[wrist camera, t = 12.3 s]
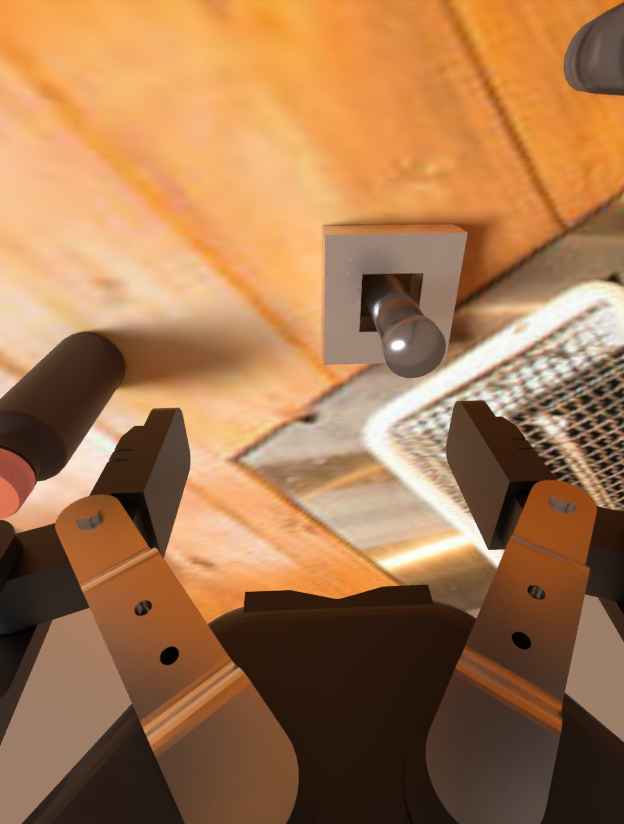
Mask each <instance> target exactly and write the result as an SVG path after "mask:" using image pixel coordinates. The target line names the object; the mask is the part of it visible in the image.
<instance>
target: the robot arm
mask: <svg viewBox="0 0 624 824" xmlns="http://www.w3.org/2000/svg"><path fill="white" fill-rule="evenodd" d="M446 455H447V461H448V464H449V466H450V468H451V471H452V473H453V475H454V477H455V479H456V481H457V483H458V486H459V488H460V490H461V492H462V494H463V496H464V498H465V501H466V503H467V505H468V507H469V509H470V511H471V513H472V516H473V518H474V520H475V522H476V524H477V526H478V529H479V531H480V533H481V535H482V537H483V539H484V541H485V544H486V546H487V548H488V550H499V549H505V551H504V554H503V556H502V559H501V561H500V563H499V566H498V568H497V571H496V573H495V575H494V578H493V580H492V583H491V585H490V588H489V590H488V592H487V595H486V597H485V600H484V602H483V604H482V607H481V609H480V612H479V614H478V617H477V619H476V618H475V617H473V616H472V615H470V614H468V613H467V612H465V611H463V610H461V609H459V608H457V607H454V606H452V605H450V604H447V603H443V602H440V601H436V600H432V597H431V594H430V591H429V587H428V585H410V586H385V587H380V588H377V589H373V590H370V591H366V592H363V593H359V594H356V595H352V596H349V597H345V598H341V599H333V598H328V597H323V596H318V595H313V594H307V593H302V592H297V591H292V590H283V591H257V592H245V601H244V607H241V608H238V609H235V610H233V611H230V612H228V613H226V614H224V615H222V616H220V617H218V618H216V619H215V620H213V621H212V622H210V623H209V624H207V623H206V621H205V620H204V618H203V617H202V615H201V614H200V612H199V611H198V609H197V608H196V606H195V605H194V603H193V602H192V600H191V599H190V597H189V596H188V594H187V593H186V591H185V590H184V588H183V587H182V585H181V584H180V582H179V581H178V579H177V578H176V576H175V575H174V573H173V572H172V570H171V569H170V567H169V566H168V564H167V563H166V561H165V560H164V555H165V552H166V549H167V545H168V542H169V538H170V535H171V532H172V528H173V525H174V521H175V518H176V515H177V511H178V508H179V504H180V501H181V498H182V494H183V491H184V487H185V484H186V481H187V477H188V474H189V470H190V449H189V444H188V439H187V434H186V429H185V424H184V419H183V414H182V411H181V409H180V408H155V409H152V410H151V412H150V414H149V416H148V418H147V420H146V422H145V425H144V426H134V427H133V428H132V429H130V430H129V431H128V432H127V433H126V434H124V435H123V436H122V437H121V439H120V440H119V442H118V444H117V446H116V448H115V452H113V453H112V455H111V457H110V459H109V462H107V464H106V466H105V468H104V470H103V472H102V473H101V475H100V477H99V479H98V481H97V483H96V484H95V486H94V488H93V490H92V492H91V494H90V495H89V496H88V497H85V498H82V499H79V500H77V501H75V502H74V503H72V504H70V505H69V506H68V507H66V508H65V509H64V510H63V511H62V512H61V513H60V515H59V516H58V518H57V520H56V523H54V524H51V525H47V526H44V527H40V528H36V529H32V530H28V531H25V532H21V533H16V531H15V529H14V527H13V526H12V525H11V524H10V523H9V522H7V521H4V520H0V745H1V742H2V740H3V737H4V735H5V733H6V730H7V728H8V725H9V723H10V721H11V718H12V716H13V713H14V711H15V709H16V706H17V704H18V701H19V699H20V697H21V694H22V692H23V689H24V687H25V685H26V682H27V680H28V677H29V675H30V673H31V670H32V668H33V666H34V663H35V661H36V658H37V656H38V653H39V651H40V649H41V646H42V644H43V642H44V639H45V637H46V634H47V632H48V630H49V627H50V625H51V622H52V620H53V619H56V618H59V617H62V616H65V615H68V614H72V613H75V612H78V611H81V610H84V609H87V608H90V610H91V612H92V614H93V616H94V619H95V621H96V623H97V625H98V628H99V630H100V632H101V634H102V637H103V639H104V641H105V643H106V646H107V648H108V650H109V652H110V655H111V657H112V659H113V662H114V664H115V666H116V668H117V671H118V673H119V675H120V677H121V680H122V682H123V684H124V686H125V689H126V691H127V693H128V695H129V698H130V700H131V702H132V704H131V705H130V706H129V707H128V709H127V710H126V711H125V712H124V713H123V714H122V715H121V716H120V717H119V718H118V719H117V720H116V722H115V723H114V724H113V725H112V726H111V727H110V728H109V729H108V730H107V731H106V732H105V734H104V735H103V736H102V737H101V738H100V739H99V740H98V741H97V742H96V743H95V744H94V746H93V747H92V748H91V749H90V750H89V751H88V752H87V753H86V754H85V755H84V756H83V758H82V759H81V760H80V761H79V762H78V763H77V764H76V765H75V766H74V767H73V768H72V770H71V771H70V772H69V773H68V774H67V775H66V776H65V777H64V778H63V779H62V780H61V782H60V783H59V784H58V785H57V786H56V787H55V788H54V789H53V790H52V791H51V792H50V794H49V795H48V796H47V797H46V798H45V799H44V800H43V801H42V802H41V803H40V804H39V805H38V807H37V808H36V809H35V810H34V811H33V812H32V813H31V814H30V815H29V816H28V817H27V819H26V820H25V821H24V822H23V823H22V824H624V742H623V741H622V740H621V739H619V738H618V737H617V736H616V735H615V734H613V733H612V732H611V731H610V730H609V729H608V728H606V727H605V726H604V725H603V724H602V723H600V722H599V721H598V720H597V719H596V718H595V717H593V716H592V715H591V714H590V713H589V712H587V711H586V710H585V709H584V708H583V707H581V706H580V705H579V704H578V703H577V702H575V701H574V700H573V699H572V698H571V697H570V696H568V695H567V694H566V693H565V688H566V684H567V678H568V674H569V669H570V664H571V660H572V655H573V650H574V645H575V640H576V635H577V631H578V626H579V621H580V616H581V611H582V606H583V601H584V596H585V594H586V595H590V596H595V597H598V598H599V600H600V602H601V604H602V605H603V607H604V609H605V610H606V612H607V614H608V616H609V617H610V619H611V621H612V622H613V624H614V626H615V628H616V629H617V631H618V633H619V634H620V636H621V638H622V640H623V641H624V512H622V511H617V510H612V509H607V508H602V507H597V506H596V504H595V502H594V501H593V499H592V498H591V497H590V496H589V495H588V494H587V493H586V492H584V491H583V490H581V489H580V488H578V487H576V486H574V485H571V484H569V483H566V482H562V481H557V479H556V478H555V477H554V475H553V474H552V473H551V471H550V470H549V469H548V468H547V466H546V465H545V464H544V462H543V461H542V460H541V458H540V457H539V456H538V454H537V453H536V452H535V450H533V449H532V446H531V445H530V444H529V442H528V441H527V440H525V437H524V436H523V434H522V433H521V432H520V430H519V429H518V428H517V426H515V425H514V424H512V423H511V422H509V421H508V420H506V419H505V418H503V417H496V416H495V415H494V414H493V412H492V411H491V409H490V408H489V406H488V405H487V404H486V402H485V401H483V400H480V401H457V402H456V403H455V405H454V408H453V413H452V418H451V423H450V428H449V434H448V439H447V444H446Z"/></svg>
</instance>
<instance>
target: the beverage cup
mask: <svg viewBox="0 0 624 824" xmlns="http://www.w3.org/2000/svg"><path fill="white" fill-rule="evenodd" d="M564 72H565V78H566V80H567V82H568V83H569V85H570V86H571V87H572V88H574V89H575V90H577V91H583V92H588V93H594V94H607V95H621V96H624V2H623V3H621V4H619V5H618V6H616V7H614V8H612V9H610V10H608V11H606V12H605V13H603V14H602V15H600V16H598V17H597V18H595V19H594V20H592V21H591V22H589V23H587V24H586V25H584V26H583V27H582V28H581V29H580V30H579V31H578V32H577V33H576V34H575V36H574V37H573V39H572V41H571V43H570V44H569V46H568V49H567V52H566V55H565V60H564Z"/></svg>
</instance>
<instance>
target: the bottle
mask: <svg viewBox="0 0 624 824" xmlns="http://www.w3.org/2000/svg"><path fill="white" fill-rule="evenodd" d="M124 374H125V362H124V360H123V358H122V355H121V353H120V352H119V351H118V349H117V348H116V347H115V346H114V345H113V344H112V343H110V342H109V341H108V340H106V339H105V338H103V337H100V336H98V335H95V334H89V333H79V334H73V335H71V336H69V337H67V338H65V339H64V340H63V341H62V342H61V343H59V344H58V345H57V346H56V347H55V348H54V349H53V350H52V351H51V352H50V353H49V354H48V355H47V356H46V357H45V358H43V359H42V360H41V361H40V362H39V363H38V364H37V365H36V366H35V367H34V368H33V369H32V370H31V371H30V372H29V373H27V374H26V375H25V376H24V377H23V378H22V379H21V380H20V381H19V382H18V383H17V384H16V385H15V386H14V387H13V388H11V389H10V390H9V391H8V392H7V393H6V394H5V395H4V396H3V397H2V398H1V399H0V518H2V519H3V518H6V517H8V516H11V515H13V514H15V513H16V512H17V511H18V510H19V509H20V507H21V506H22V504H23V503H24V502H25V500H26V499H27V497H28V496H29V495H30V493H31V492H32V490H33V489H34V486H35V485H36V483H37V481H44V480H47V479H49V478H51V477H53V476H55V475H57V474H58V473H59V472H60V471H61V470H62V469H63V468H64V467H65V466H66V464H67V463H68V461H69V460H70V458H71V457H72V455H73V454H74V452H75V451H76V449H77V448H78V446H79V445H80V443H81V442H82V440H83V439H84V437H85V436H86V434H87V433H88V431H89V430H90V428H91V427H92V425H93V424H94V422H95V421H96V419H97V418H98V416H99V415H100V413H101V412H102V410H103V409H104V407H105V406H106V404H107V403H108V401H109V400H110V398H111V397H112V395H113V394H114V392H115V391H116V389H117V388H118V386H119V385H120V383H121V382H122V380H123V377H124Z"/></svg>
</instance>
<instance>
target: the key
mask: <svg viewBox="0 0 624 824" xmlns="http://www.w3.org/2000/svg"><path fill="white" fill-rule="evenodd" d="M362 295H363V298H364V301H365V303H366V305H367V308H368V310H369V312H370V315H371V317H372V319H373V322H374V324H375V327H376V329H377V331H378V334H379V336H380V338H381V341H382V343H381V348H382V353H383V356H384V358H385V361H386V363H387V365H388V367H389V368H390V369H391V370H392V371H393V372H394V373H395V374H397V375H399V376H402V377H406V378H416V377H421V376H424V375H426V374H428V373H430V372H431V371H433V370H434V369H435V368H436V367H437V366H438V365H439V364H440V362H441V361H442V359H443V357H444V354H445V350H446V342H445V338H444V335H443V334H442V332H441V331H440V329H439V328H438V327H437V325H436V324H435V323H434V322H433V321H432V320H431V319H429V318H427V317H425V316H424V315H423V313H422V312H421V310H420V309H419V307H418V306H417V305H416V303H415V302H414V300H413V299H412V298H411V296H410V295H409V293H408V292H407V291H406V289H405V288H404V286H403V285H402V284H401V282H400V281H399V279H398V278H397V277H396V276H395V275H394V274H372V275H371V276H369V277H368V278H367V280H366V281H365V283H364V285H363V289H362Z"/></svg>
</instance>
